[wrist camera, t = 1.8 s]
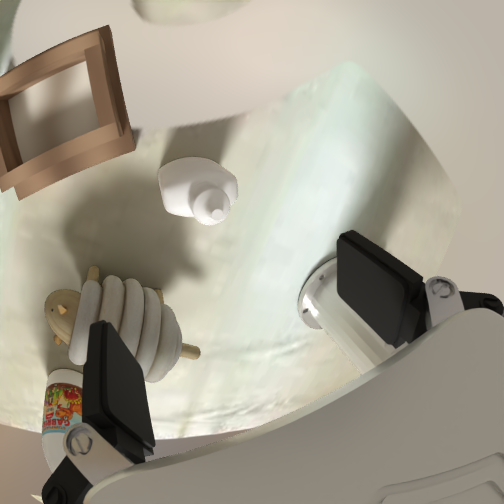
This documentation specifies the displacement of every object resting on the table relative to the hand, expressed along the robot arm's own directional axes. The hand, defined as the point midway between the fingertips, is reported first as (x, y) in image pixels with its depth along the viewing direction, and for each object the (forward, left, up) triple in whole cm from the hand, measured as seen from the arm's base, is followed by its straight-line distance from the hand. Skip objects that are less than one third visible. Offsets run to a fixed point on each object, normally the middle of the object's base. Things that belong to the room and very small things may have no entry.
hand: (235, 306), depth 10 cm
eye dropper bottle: (-1, -1, -19) cm, 19 cm away
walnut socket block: (+9, -11, -19) cm, 23 cm away
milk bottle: (+25, +21, -19) cm, 38 cm away
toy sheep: (+10, +10, -19) cm, 24 cm away
